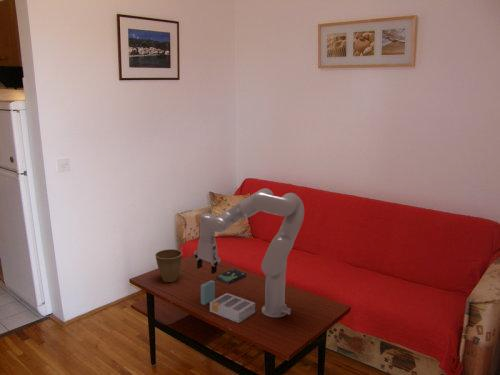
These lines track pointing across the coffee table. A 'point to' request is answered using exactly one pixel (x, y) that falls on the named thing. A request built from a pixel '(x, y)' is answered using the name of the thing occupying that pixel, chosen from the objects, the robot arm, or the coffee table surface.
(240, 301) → the frame
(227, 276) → the disk drive
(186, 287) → the coffee table surface
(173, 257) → the plant pot
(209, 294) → the panel
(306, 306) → the coffee table surface
